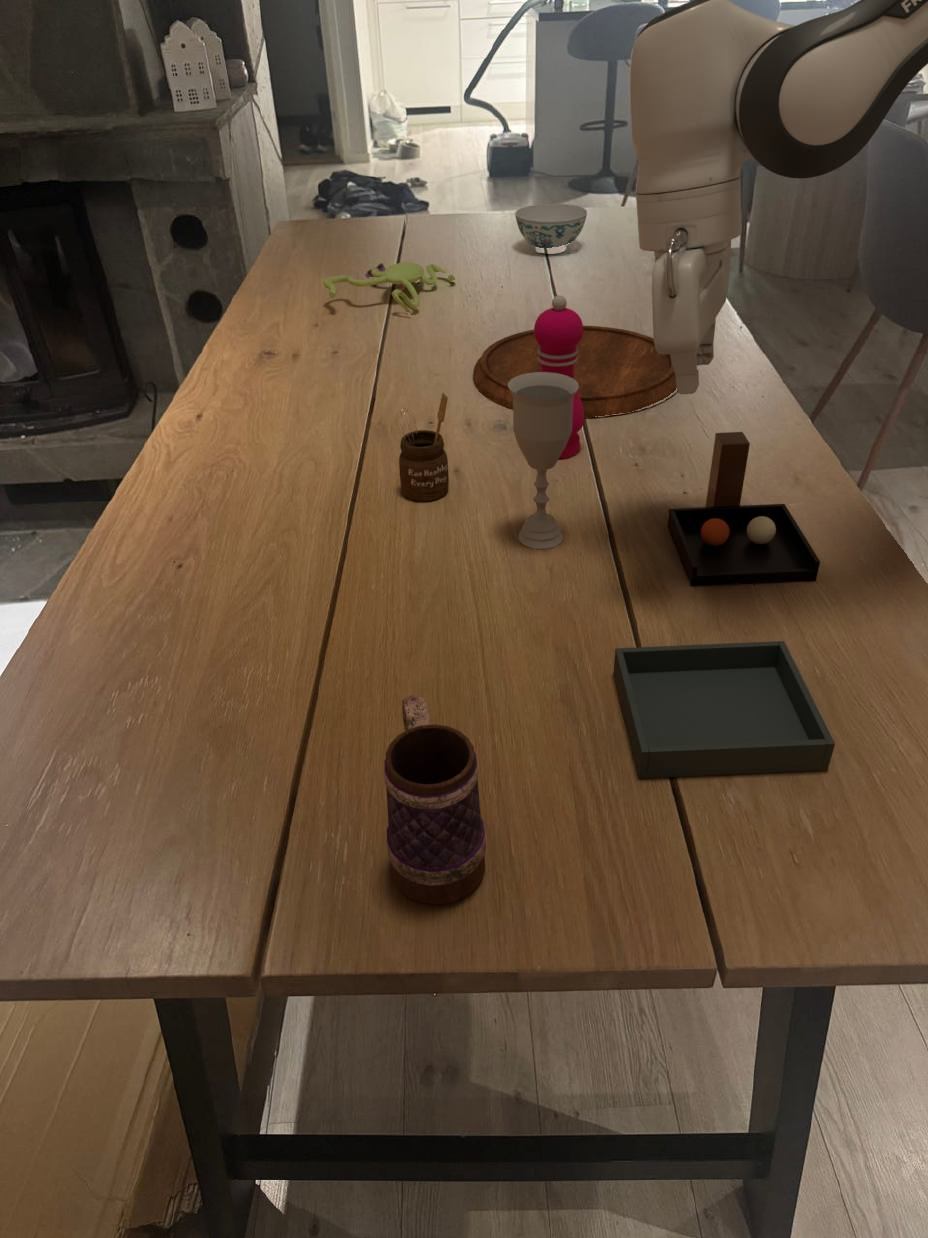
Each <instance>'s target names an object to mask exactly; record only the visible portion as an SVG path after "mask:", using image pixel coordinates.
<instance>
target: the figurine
mask: <svg viewBox="0 0 928 1238" xmlns="http://www.w3.org/2000/svg"><path fill="white" fill-rule="evenodd" d="M426 272H427V273H428V275H429V277H430V278H429V277H427V276H426V275H424V274H425V270H424V267H423V266H422V265H420V264H418V263H416V262H398V263H395V264H392V265H389V266H387V267H385V265H384V263H379V264H378V265H377V266H376V267H374V268H373V269H372V268H371V269H369V270H367V271H366V273H364V276H365V278H366V277H367V278H369V277H377V278H372V279H367V278H366V279H355V278H353V277H351V276H350V275H345V274H344V275H334V276H330V277H327V278H326V279H325V280H324V281H323V285H324V287H325V288H326V289H328V290H329V294H328V296H329V298H330V299H335V297H336V295H337V287H336V286H335V284H337V283H348V284H349V285H351V286H354V287H362V288H364V287H370V286H376V285H381V284H384V283H390V284H393V285H398V288H396V289H394V290H393V291H392V292H391V293H390V295H391V296H392V298H393V299H394V300H395V301H396V302H397V303H398V305H399V306H401V308H402V309H403V310H404V311H405V312H406V313H407V312H409V313H411V314H412V312H411V310H410V308H411V309H413V310H416V309H417V308H418V307H420V298H419V295H418V293H417V290H416V289H415V287H414V285H413V284H412V283H414V281H417V280H419V279H420V280H421V281H420V282H423V283H424V284H426V285H428V286H429V285H435V284H436V283H437V284H438V276H437V272H442V273H449V272H448V271H446V270H445V269H444V268H442V267H441V266H438V265H436V264H434V263H430V264H428V265H427V266H426ZM431 279H432V280H431ZM455 279H456V277H455V276H454V275H453V274H451V275H449V276H448V280H449V281H453V280H455ZM448 280H447V281H448ZM449 281H448V282H449ZM437 284H436V285H437ZM436 285H435V286H436ZM405 289H407V290H408V292H409V294H410V295H411V297H412V301H411V299H410V298H409V296H408V295H407V294H406V293H404V290H405ZM401 290H403V292H402V291H401ZM400 297H401V298H402V299H403V300H404V302H405V303H406V304H407V305H406V304H405V303H404V302H403V300H401V298H400ZM408 306H409V307H410V308H409V307H408Z"/></svg>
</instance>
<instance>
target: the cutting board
mask: <svg viewBox="0 0 928 1238" xmlns="http://www.w3.org/2000/svg"><path fill="white" fill-rule="evenodd" d="M539 347H540V345H539V344H538V343H537V341H536V340H535V337H534V329H529V330H525V331H520V332H517V333H513V334H510V335H508V336H505V337H503V338H500V339H499V340H497V341H495V342H493V343H492V344H490V345H489V346H488V347H487V348H486V349H484V350H483V353H482V354H481V355H480V357H479V358H478V359H477V361H476V363H475V364H474V366H473V371H472V372H473V373H472V380H473V384H474V386H475V385H476V386H475V388H476V389H477V391H478V392H480V394H482V395H483V397H485V398H486V399H488V400H490V401H491V402H494V403H495V404H497V405H500V406H502V407H505V408H507V409H510V410H513V395H512V394H511V392H510V390H509V388H508V382H509V381H510V380H511V379H512V378H514V377H516V376H519V375H522V374H526V373H534V372H541V363H540V362H539V361H538V355H539V354H538V348H539ZM576 347H577V348H578V354H577V356H578V360H577V362H575V364H574V380H575V381H577V382H578V385H579V388H578V390H577V392H578V394H579V397H580V399H581V402H582V405H583V409H584V419H591V418H590V417H595V416H597V417H598V416H605V415H612V414H619V413H628V412H632V411H635V410H638V409H641V408H643V407H646V406H649V405H651V404H654V403H656V402H658V401H660V400H663V399H664V398H666V397H668V396H669V395H670V394H671V393H673V392H674V391H675V390H676V375H675V372H674V369H673V365H672V362H671V354H665V355H662V354H658V353H657V351H656V348H655V344H654V337H651V336H649V335H647V334H643V333H639V332H636V331H633V330H632V331H631V330H627V329H623V328H618V327H617V328H616V327H609V326H598V325H583V337H582V339H581V341H580V342H579V343H578V344H577V345H576Z"/></svg>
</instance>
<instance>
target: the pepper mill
mask: <svg viewBox="0 0 928 1238" xmlns="http://www.w3.org/2000/svg"><path fill="white" fill-rule="evenodd" d="M567 305H568V304H567V299H566V297H565V296H563V295H560V294H559V295H556V296H554V297H553V298H552V301H551V307H550V308H548V309H545V310H544V311H542V312H541V313H540V314H539V315H538V316H537V318H536V320H535V323H534V326H533V330H534V337H535V340H536V341H537V343H538V344H539V345H540V347H539V348H538V354H539V355H538V361H539V362H540V363H541V372H550V373H558V374H562V375H566V376H568V377H571V378H573V379H574V364H575V362H577V360H578V356H577V354H578V348H577V347H576V345H577V344H578V343H579V342H580V341H581V339H582V337H583V326H584V324H583V321H582V318H581V317H580V315H579V314H578V313H577V312H576V311H575V310H573V309H571V308H568V307H567ZM584 424H585V418H584V409H583V405H582V402H581V399H580V397H579V394H578V392H577V391H576V393H575V395H574V397H573V419H572V433H571V435H570V437H569V440H568V442H567V445H566V447H565V449H564V451H563V452H562V454H561V456H560V457H559V459H558V460H563V459H566V458H571V457H573V456H575V455H576V454H577V453H578V452H579V450H580V441H581V438H580V437H581V436H580V435H579V433H578V432H579V431H580V430H581V429H582V428H583V426H584Z"/></svg>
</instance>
